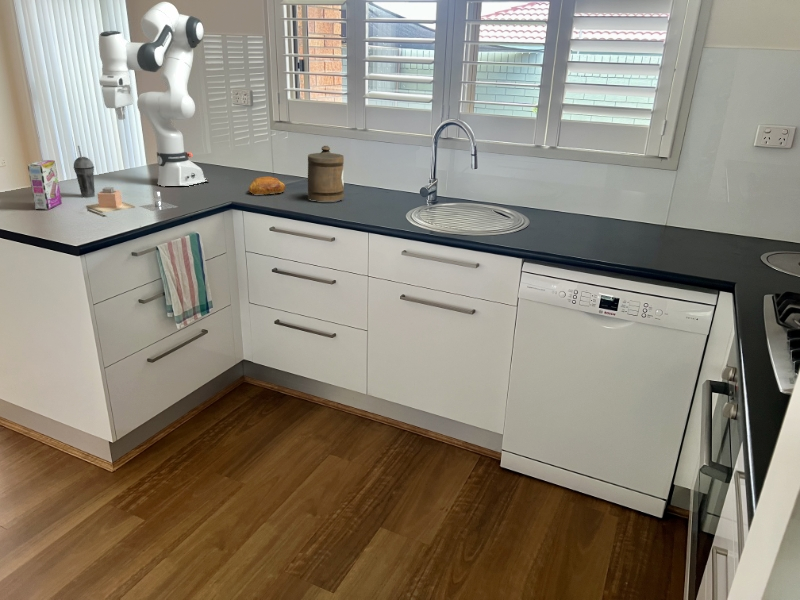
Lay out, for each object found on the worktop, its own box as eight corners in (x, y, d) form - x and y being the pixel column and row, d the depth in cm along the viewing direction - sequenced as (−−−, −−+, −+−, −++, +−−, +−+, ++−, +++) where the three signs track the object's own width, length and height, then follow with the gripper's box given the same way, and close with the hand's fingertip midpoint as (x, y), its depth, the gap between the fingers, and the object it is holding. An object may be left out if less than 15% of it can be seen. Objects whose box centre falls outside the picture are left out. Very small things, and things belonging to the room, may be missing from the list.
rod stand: (164, 205, 228) (162, 187, 226) (178, 210, 223) (176, 192, 220) (139, 210, 221) (136, 191, 219) (153, 215, 215) (151, 195, 213)
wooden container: (350, 200, 250) (351, 146, 242) (323, 204, 240) (323, 149, 232) (327, 194, 259) (327, 142, 251) (300, 198, 249) (299, 144, 241)
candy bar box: (49, 210, 216) (41, 164, 210) (35, 210, 216) (26, 164, 210) (63, 203, 226) (55, 159, 220) (49, 203, 226) (41, 159, 220)
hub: (119, 205, 226) (116, 183, 223) (135, 211, 219) (132, 188, 216) (87, 210, 217) (83, 187, 214) (103, 216, 211) (99, 193, 207)
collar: (105, 203, 220) (103, 190, 218) (122, 204, 221) (120, 190, 219) (99, 207, 215) (97, 193, 213) (116, 207, 215) (114, 194, 213)
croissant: (287, 200, 255) (289, 181, 253) (251, 197, 248) (252, 178, 246) (279, 192, 267) (281, 174, 265) (244, 189, 260) (245, 171, 258)
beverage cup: (102, 194, 242) (94, 144, 234) (91, 198, 235) (83, 147, 228) (85, 193, 242) (77, 143, 235) (74, 197, 236) (65, 146, 228)
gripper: (117, 78, 225) (122, 116, 230) (97, 80, 206) (103, 121, 212) (134, 79, 226) (139, 116, 231) (116, 81, 207) (121, 122, 212)
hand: (121, 119), depth 221 cm, fingers closed
